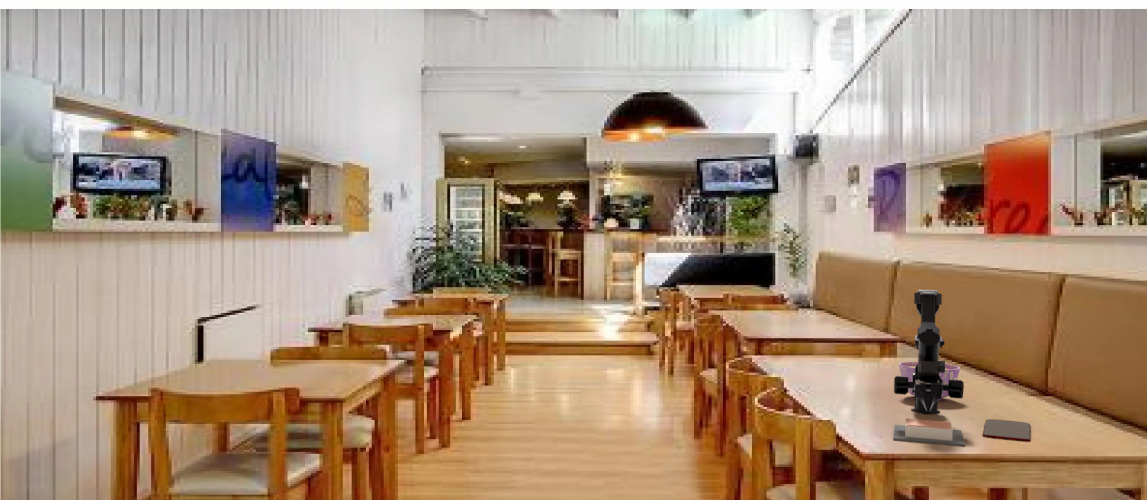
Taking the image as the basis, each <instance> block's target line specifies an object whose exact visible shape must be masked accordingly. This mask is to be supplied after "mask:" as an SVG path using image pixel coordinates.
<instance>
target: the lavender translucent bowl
mask: <svg viewBox="0 0 1147 500" xmlns="http://www.w3.org/2000/svg"><path fill="white" fill-rule="evenodd" d="M917 364H918V361H905V362H904V361H903V362H899V363H898V368H899V372H900V376H907V377H908V382H912V377H913V374H915V367H916V366H917ZM960 371H961V367H960V366H958V365H954V364H950V363H945V373H939V375H941V379H942V380H943V383H946V384H949V379H953V380H959V379H958V378H959V374H960ZM908 393H909V394H910V395H911V396H914V397H915V392H914V393H912V389H908ZM947 397H949V396H948V391H942V398H941V399H938V401H941V400H942V399H943V398H947Z"/></svg>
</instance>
